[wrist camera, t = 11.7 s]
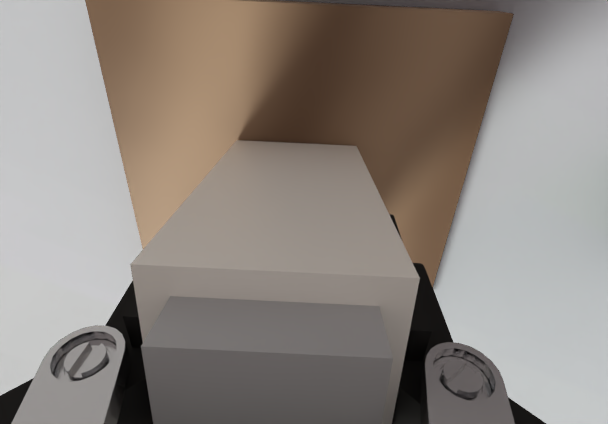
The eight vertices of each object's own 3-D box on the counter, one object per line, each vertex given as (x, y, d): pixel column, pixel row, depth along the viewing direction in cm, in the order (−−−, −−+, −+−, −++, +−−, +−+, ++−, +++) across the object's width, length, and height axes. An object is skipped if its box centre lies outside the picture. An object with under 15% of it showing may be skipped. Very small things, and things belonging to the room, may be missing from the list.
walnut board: (499, 11, 11) (513, 13, 10) (418, 300, 18) (423, 316, 17) (101, -8, 11) (83, -8, 10) (163, 288, 18) (155, 303, 17)
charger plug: (356, 145, 13) (443, 327, 4) (343, 273, 14) (386, 568, 6) (236, 140, 13) (90, 309, 4) (240, 269, 14) (144, 556, 6)
